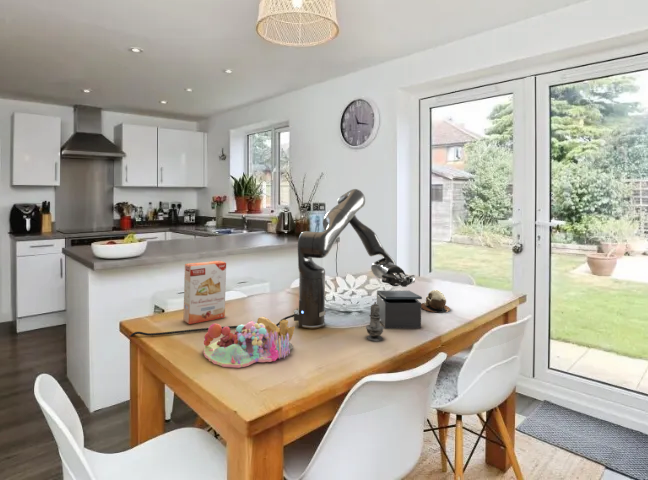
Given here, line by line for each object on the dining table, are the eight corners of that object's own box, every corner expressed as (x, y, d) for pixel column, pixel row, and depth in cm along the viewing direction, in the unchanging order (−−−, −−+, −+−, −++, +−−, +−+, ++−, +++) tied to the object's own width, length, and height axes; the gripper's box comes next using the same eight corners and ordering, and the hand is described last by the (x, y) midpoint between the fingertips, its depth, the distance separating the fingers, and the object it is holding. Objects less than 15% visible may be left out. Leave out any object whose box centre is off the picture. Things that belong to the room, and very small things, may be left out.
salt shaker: (383, 342, 130) (383, 304, 130) (364, 340, 132) (365, 303, 132) (384, 336, 136) (384, 299, 136) (366, 334, 137) (366, 298, 137)
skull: (412, 302, 174) (426, 284, 176) (428, 318, 176) (442, 299, 178) (427, 309, 162) (442, 289, 164) (444, 326, 164) (459, 305, 166)
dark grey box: (420, 328, 145) (421, 303, 145) (385, 328, 144) (385, 303, 144) (409, 315, 159) (409, 292, 159) (376, 315, 159) (376, 292, 159)
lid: (422, 299, 144) (421, 296, 144) (385, 299, 143) (385, 296, 143) (409, 292, 159) (409, 290, 159) (376, 292, 159) (376, 290, 159)
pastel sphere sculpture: (251, 331, 139) (252, 304, 139) (307, 347, 125) (308, 317, 125) (190, 354, 118) (190, 322, 118) (248, 377, 105) (249, 340, 105)
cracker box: (189, 325, 144) (190, 265, 144) (182, 321, 149) (183, 263, 149) (225, 318, 153) (226, 261, 153) (218, 314, 158) (219, 259, 158)
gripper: (376, 264, 159) (386, 272, 142) (409, 264, 160) (423, 273, 143) (375, 283, 159) (385, 294, 142) (409, 284, 160) (423, 294, 143)
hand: (404, 283), depth 142 cm, fingers closed
